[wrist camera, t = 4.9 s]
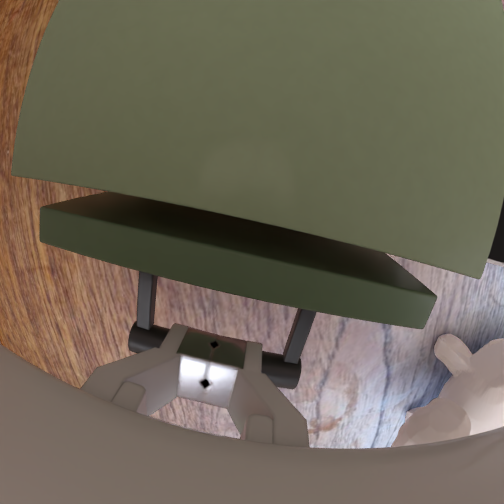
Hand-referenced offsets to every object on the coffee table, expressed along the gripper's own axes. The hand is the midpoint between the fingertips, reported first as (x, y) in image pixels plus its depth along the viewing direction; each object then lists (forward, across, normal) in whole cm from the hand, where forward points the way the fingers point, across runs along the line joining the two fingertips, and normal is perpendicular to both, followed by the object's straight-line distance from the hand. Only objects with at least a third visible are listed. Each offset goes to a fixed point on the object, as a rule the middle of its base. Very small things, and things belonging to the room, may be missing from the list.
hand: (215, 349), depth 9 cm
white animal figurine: (+7, +18, -5) cm, 20 cm away
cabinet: (+7, 0, +13) cm, 15 cm away
